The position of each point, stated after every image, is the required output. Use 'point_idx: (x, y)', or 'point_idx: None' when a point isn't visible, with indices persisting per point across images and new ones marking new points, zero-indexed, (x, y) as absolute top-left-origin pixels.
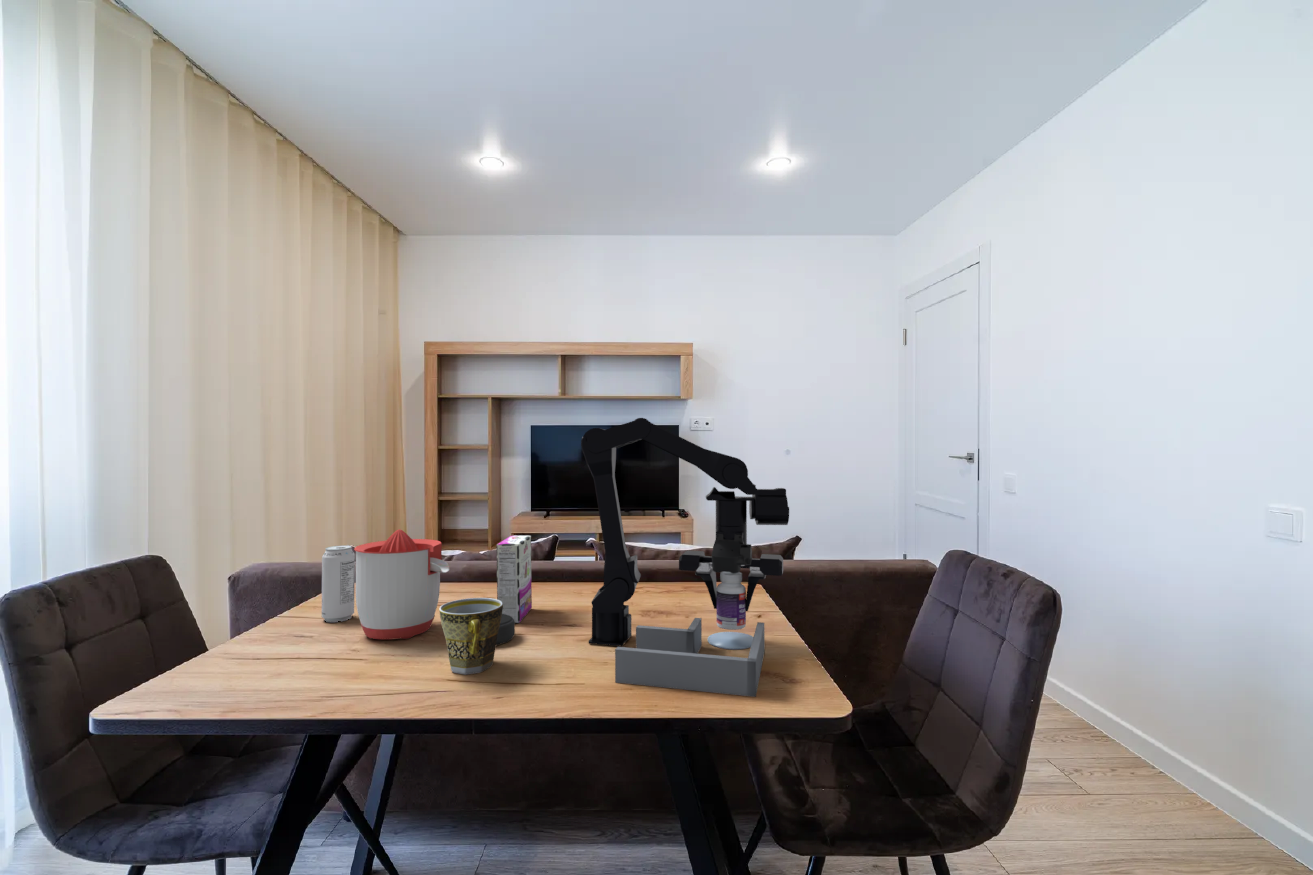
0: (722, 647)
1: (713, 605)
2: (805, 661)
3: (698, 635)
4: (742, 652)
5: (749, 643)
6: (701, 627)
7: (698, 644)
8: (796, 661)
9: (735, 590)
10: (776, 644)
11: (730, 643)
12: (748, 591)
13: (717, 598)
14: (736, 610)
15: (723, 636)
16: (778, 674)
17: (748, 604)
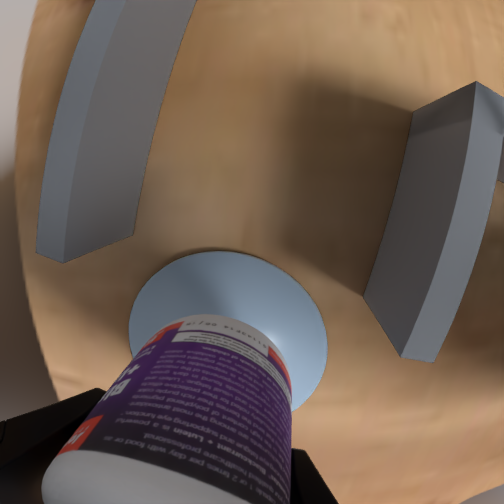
0: (276, 266)
1: (311, 461)
2: (19, 140)
3: (412, 238)
4: (194, 216)
5: (155, 302)
6: (385, 329)
7: (396, 229)
8: (37, 135)
9: (94, 481)
10: (71, 300)
11: (234, 308)
12: (14, 446)
13: (287, 486)
14: (154, 367)
15: None
16: None
17: (71, 402)
